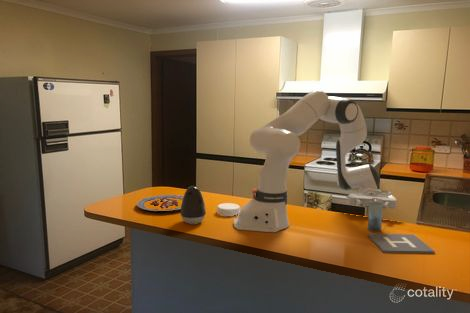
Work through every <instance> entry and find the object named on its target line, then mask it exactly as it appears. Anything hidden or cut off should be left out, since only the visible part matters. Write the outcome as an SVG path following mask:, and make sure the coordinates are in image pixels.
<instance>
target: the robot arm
mask: <svg viewBox="0 0 470 313" xmlns="http://www.w3.org/2000/svg"><path fill="white" fill-rule="evenodd" d="M365 120H366V119H365V116H364V114H363V112H362V109H361V107H360V106H359V105H358V104H357V102H356V101H354V99H351V98H348V97H339V96H331V95H328V94H327V93H326V92H324V91H323V90H321V89H314V90H312V91H310V92H309V93H306V95H304V96H302V97H301V98H300V99H299V100H297V102H295V104H293V105H292V106H291V107H290V108H289V109H287V111H285V112H284V113H283V114H281V115H279V116H277V117H276V118H275V119H273V120H271V121H269V122H268V123H266V124H265V125H263V126H261V127H258V128H256V129H254V130H252V132H251V134H250V137H249V143H250V146H251V147H252V149H254V150H255V151H256V152H258V153H260V154H262V155H265V161H264V163H263V166H262V167H260V169H259V171H258V188H252V190H251V193H252V195H253V196H252V197H253V198H252V199H251V200H250V201H248V202H247V203H245V204H244V205H242V207H240V213H239V214H238V215H237V216H236V217H234V219H233V227H234V228H235V229H237V230H241V231H252V232H253V231H254V232H262V233H264V232H266V233H277V232H279V231H280V230H284V229H287V228H289V227H290V222H289V218H288V210H287V204H288V195H289V193H288V190H287V186H288V185H287V184H288V183H287V182H288V170H289V167H290V165H291V162H292V160H293V158H294V157H296V156H297V154H298V153H299V151H300V148H301V141H300V140H301V139H300V138H299V136H302V135H303V134H304V133H306V132H307V131H309V129H310V128H311V127H312V126H313V125H314V124H315V123H316V122H317V121H324V122H327V123H330V124H331V123H332V124H339V130H340V137H339V139H338V140H336V143H335V144H336V145H335V150H336V151H335V156H336V157H335V158H336V168H337V169H336V170H337V173H336V182H337V185H338V187H339V189H341V190H344V191H349V190H352V189H355V188H359V190H358V193H353V192H351V193H349V194H348V195H346V199H347V205H350V206H351V205H352V206H358V207H361V208H362V207H366V208H369V202H370V198H379V199H382V200H383V210H384V209H397V205H398V200H397V198H396V197H395V196H394V195H392V192H391V191H387V190H381V189H379V188H378V187H379V186H380V178H379V175H378V172H377V170H376V168H375V167H374V166H373V165H372V164H363V165H359V166H353V167H349V168H347V167H346V165H347V164H346V156H347V155H348V153H350V152H351V151H352V150H354V149H356V148H357V147H359V146H360V145H362V144H363V143H364V141H366V139H367V136H368V130H367V128H368V127H367V124H366V121H365Z"/></svg>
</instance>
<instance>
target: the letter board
mask: <svg viewBox="0 0 470 313" xmlns="http://www.w3.org/2000/svg"><path fill="white" fill-rule="evenodd" d="M367 237H368V238H369V239H370V240H371V241H372V243H374V244H375V246H376V247H377V248H378V249H379V250H380V251H381V253H383V254H385V253H386V254H433V255H434V254H435V253H436V251H435V250H434V249H433V248H431V247H430V246H429V245H427V244H426V243H425V242H424V241H423V240H421V239H420V238H419V237H418V236H416V235H415V234H411V233H410V234H405V233H404V234H403V233H401V234H400V233H399V234H398V233H395V234H394V233H368V234H367Z"/></svg>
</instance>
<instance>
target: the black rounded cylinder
mask: <svg viewBox="0 0 470 313" xmlns="http://www.w3.org/2000/svg"><path fill="white" fill-rule="evenodd" d="M183 196H184V197H183V200H182V204H181V209H180V216H181V219H182V221H183V222H184V223H186V224H188V223H189V224H188V225H197V224H196V223H198V224H200V223H202V222H203V220H204V219H205V216H206V213H207V212H206V206H205V200H204V197H203V195H202V192H201V190H200V189H199V187H198V186H195V185H191V186H188V187H187V189H186V190H185V192H184V194H183Z"/></svg>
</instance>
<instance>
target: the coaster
mask: <svg viewBox="0 0 470 313" xmlns="http://www.w3.org/2000/svg"><path fill="white" fill-rule="evenodd" d="M240 210H241V207H240V205H239V204H237V203H235V202H233V203H231V202H224V203H219V204H218V205H217V207H216V211H217V212H218V213H219V214H221V215H224V216H223V217H227V216H230V217H235V216H234V215H236V216H238V215H239V213H240ZM217 212H216V213H217ZM218 213H217V214H218ZM219 214H218V215H219ZM237 214H238V215H237ZM221 215H220V216H221Z"/></svg>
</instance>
